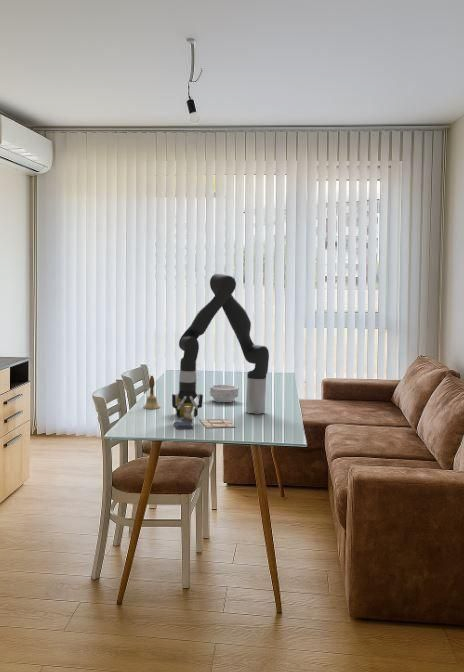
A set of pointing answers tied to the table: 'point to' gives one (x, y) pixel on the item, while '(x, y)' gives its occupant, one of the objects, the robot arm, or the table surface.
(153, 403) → the hand bell
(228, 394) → the stone bowl
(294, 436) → the table surface
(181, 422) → the ink pad
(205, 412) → the table surface
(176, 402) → the flower pot
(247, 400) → the robot arm
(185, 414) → the stamp
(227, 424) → the sheet
